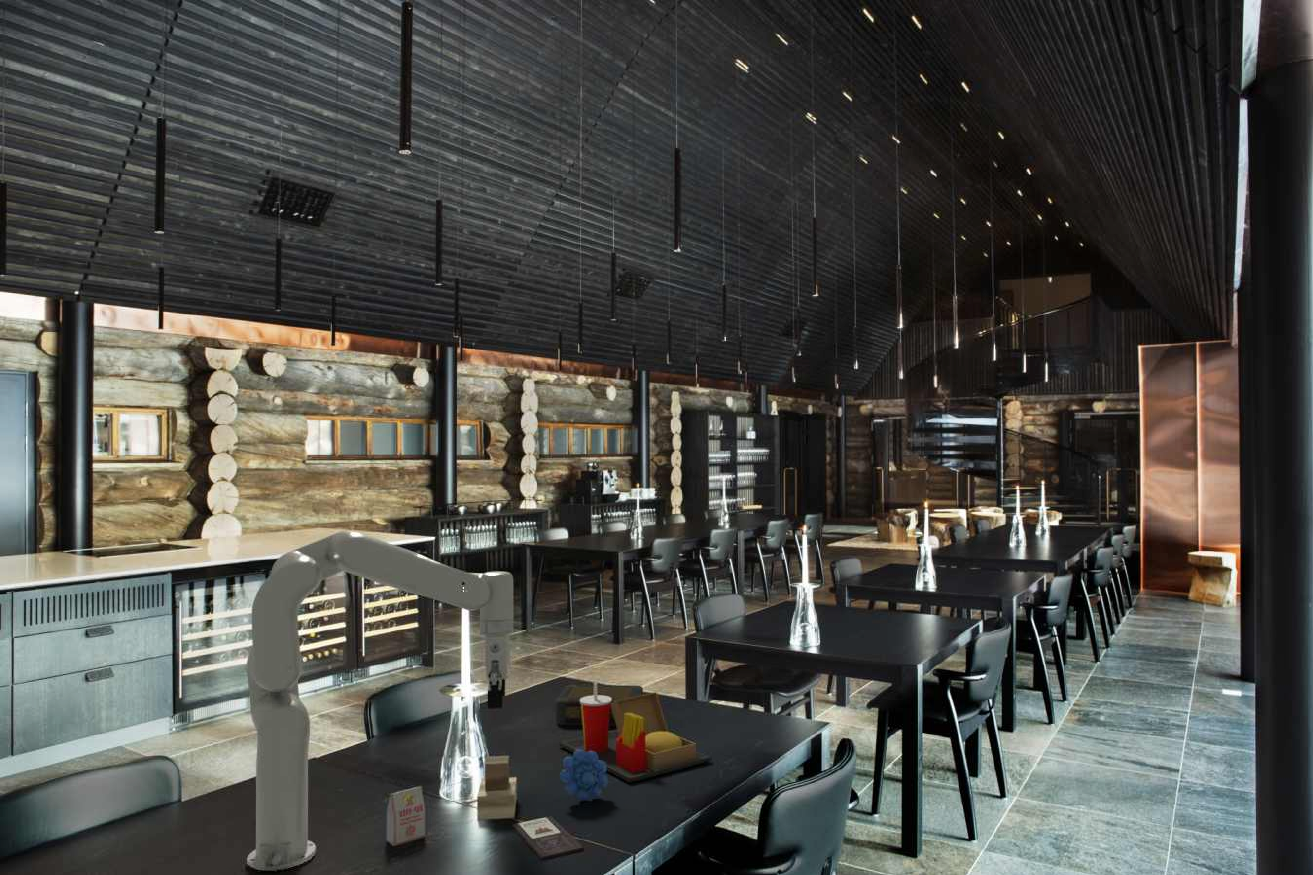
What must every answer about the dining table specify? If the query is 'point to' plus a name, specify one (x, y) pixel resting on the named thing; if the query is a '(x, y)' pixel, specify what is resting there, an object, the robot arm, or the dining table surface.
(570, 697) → the cash box
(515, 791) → the block
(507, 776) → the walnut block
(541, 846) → the chocolate bar
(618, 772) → the fast food meal
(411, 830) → the white paper bag
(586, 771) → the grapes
